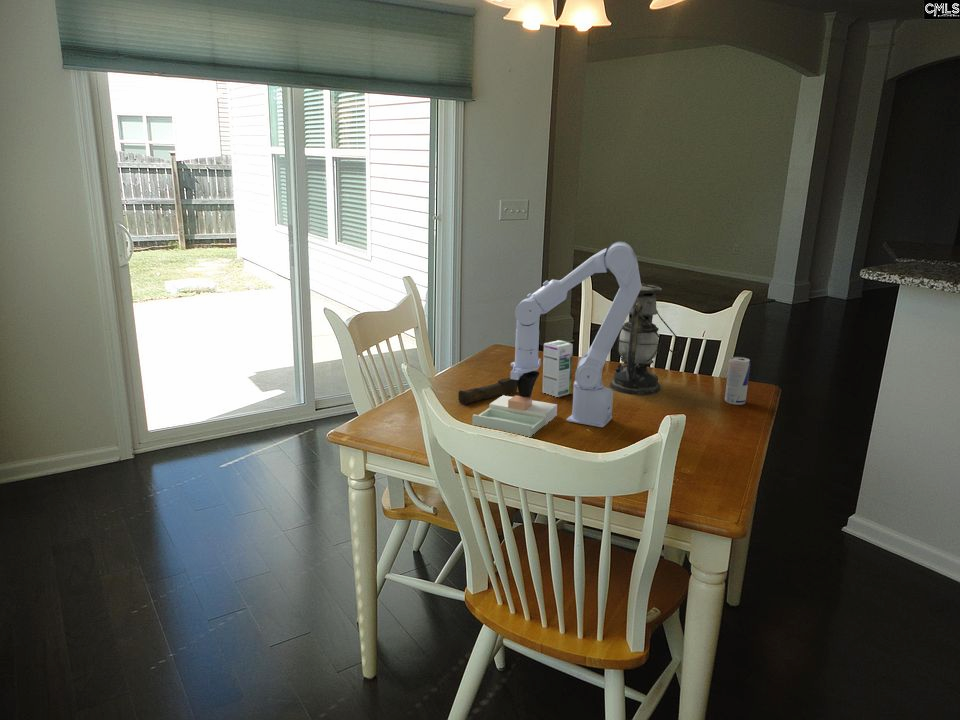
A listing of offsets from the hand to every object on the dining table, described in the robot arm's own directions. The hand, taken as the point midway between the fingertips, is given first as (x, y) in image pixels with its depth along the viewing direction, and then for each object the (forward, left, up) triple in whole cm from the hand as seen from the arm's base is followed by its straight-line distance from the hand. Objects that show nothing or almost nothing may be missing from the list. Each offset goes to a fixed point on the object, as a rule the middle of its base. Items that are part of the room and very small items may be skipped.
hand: (525, 400), depth 176 cm
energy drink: (-46, -37, -4) cm, 59 cm away
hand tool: (+14, -8, -4) cm, 17 cm away
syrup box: (-1, -20, -4) cm, 20 cm away
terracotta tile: (0, +3, -1) cm, 3 cm away
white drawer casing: (0, +1, -4) cm, 4 cm away
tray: (0, +10, -4) cm, 11 cm away
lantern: (-21, -37, -4) cm, 43 cm away
